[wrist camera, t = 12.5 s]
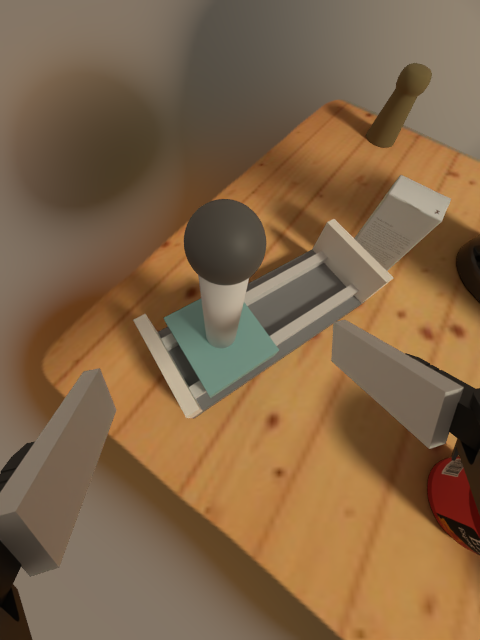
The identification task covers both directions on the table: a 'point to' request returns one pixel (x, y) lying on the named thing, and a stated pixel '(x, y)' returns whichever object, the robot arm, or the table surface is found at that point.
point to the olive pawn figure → (399, 105)
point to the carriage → (222, 296)
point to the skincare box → (401, 221)
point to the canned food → (454, 503)
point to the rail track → (281, 310)
